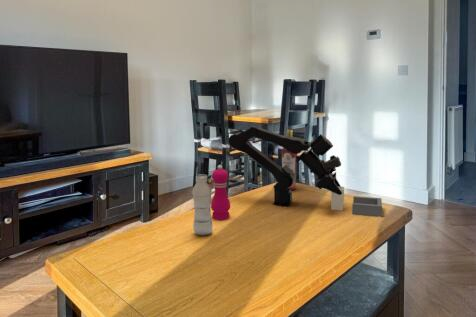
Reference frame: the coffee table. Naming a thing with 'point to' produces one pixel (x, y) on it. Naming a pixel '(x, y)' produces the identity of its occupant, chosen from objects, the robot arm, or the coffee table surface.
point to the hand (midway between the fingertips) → (341, 192)
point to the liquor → (289, 159)
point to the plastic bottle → (202, 206)
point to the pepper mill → (220, 195)
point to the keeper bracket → (367, 206)
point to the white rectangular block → (337, 200)
